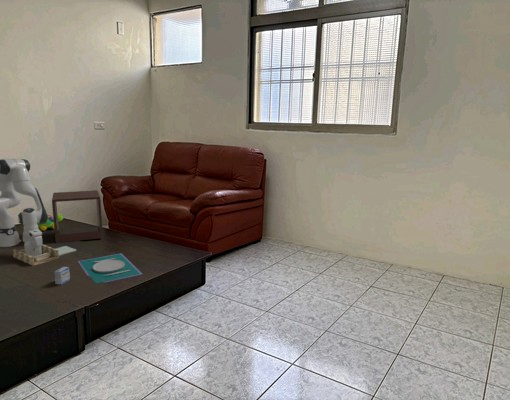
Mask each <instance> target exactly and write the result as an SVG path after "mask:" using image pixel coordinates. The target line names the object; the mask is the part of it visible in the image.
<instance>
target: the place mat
mask: <svg viewBox="0 0 510 400" xmlns="http://www.w3.org/2000/svg"><path fill="white" fill-rule="evenodd" d="M77 263H78V264H79V266H80V267H81V269H82V270H83V271H84V274H86V276H88V277H90V278H91V279H92V280H93V282H95V283H97V284H99V283H108V282H113V281H119V280H125V279H129V278H134V277H138V276H139V277H140V276H143V273H142V272H141V270H140V269H139V268H137V267H136V266H135V265H134V264H133V263H132V262H131V261H130V260H129V259H128V258H127V257H126V256H125V255H124V254H123V253H121V252H120V253H115V254H110V255H106V256H105V255H103V256H100V257H94V258H89V259H82V260H78V261H77Z"/></svg>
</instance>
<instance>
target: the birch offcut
mask: <svg viewBox="0 0 510 400" xmlns="http://www.w3.org/2000/svg"><path fill="white" fill-rule="evenodd" d="M48 257H50V254H49V253H42V255H39V256H36V257H34V260H35V261H39V260H42V259H45V258H48Z"/></svg>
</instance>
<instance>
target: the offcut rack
mask: <svg viewBox="0 0 510 400" xmlns="http://www.w3.org/2000/svg"><path fill="white" fill-rule="evenodd" d="M41 251H42V254H44V253H49V254H50V256H52V258H49V259H46V260H42V261H39V262H35V263H34V257H32V256H30V255H27V254H25V248H24V249H19V250H18V249H16V248H13V249H12V253H13V254H12V255H13V258H15V259H17V260H19V261H21V262H24V263H26V264H28V265H30V266H37V265H41V264H44V263H48V262H52V261H54V260H57V259H58V260H59V258H60V256H59V252H58V250H56V248H53V247H51V246H48V245H46V244H43V243H42V246H41Z"/></svg>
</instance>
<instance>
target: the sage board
mask: <svg viewBox="0 0 510 400" xmlns="http://www.w3.org/2000/svg"><path fill="white" fill-rule="evenodd" d="M55 249H56V250H58V252H59V257H60V256H63V255H67V254H70V253H73V252H76V251H77V249H76V248H72V247H70V246H67V245H63V246H59V247H56V248H55Z"/></svg>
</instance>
